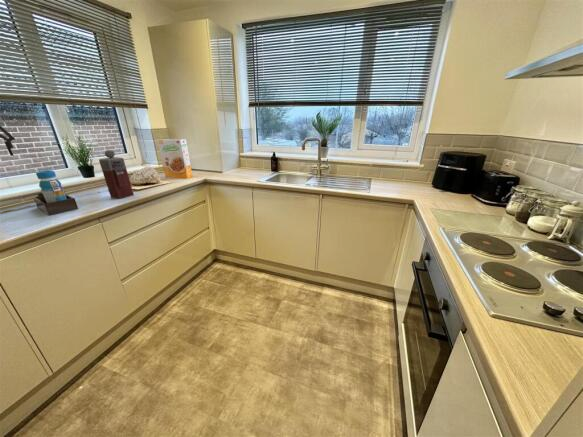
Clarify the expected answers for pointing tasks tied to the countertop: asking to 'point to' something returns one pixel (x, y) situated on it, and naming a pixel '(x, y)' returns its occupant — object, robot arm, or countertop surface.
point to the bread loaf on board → (146, 178)
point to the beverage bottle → (50, 186)
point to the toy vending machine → (116, 176)
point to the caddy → (55, 204)
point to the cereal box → (175, 158)
